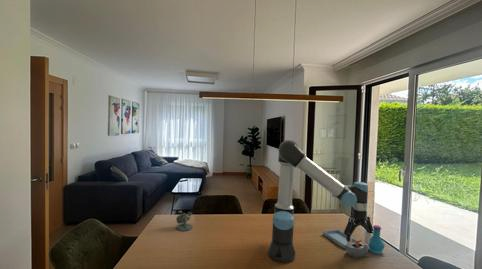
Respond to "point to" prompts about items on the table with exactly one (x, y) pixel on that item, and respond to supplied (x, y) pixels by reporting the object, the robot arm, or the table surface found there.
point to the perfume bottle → (376, 241)
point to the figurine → (182, 219)
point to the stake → (358, 242)
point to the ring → (357, 250)
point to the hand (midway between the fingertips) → (358, 244)
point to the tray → (337, 237)
